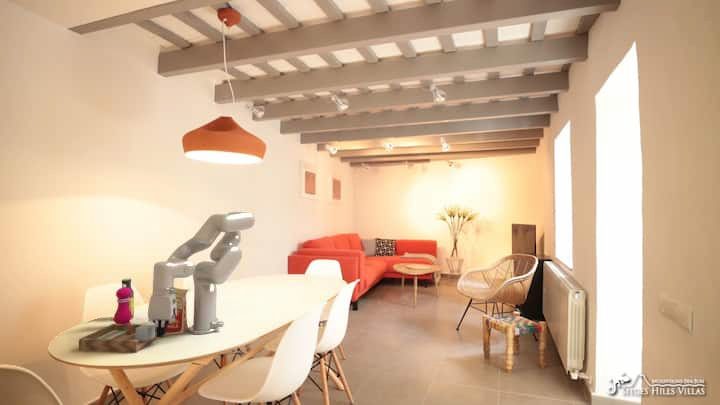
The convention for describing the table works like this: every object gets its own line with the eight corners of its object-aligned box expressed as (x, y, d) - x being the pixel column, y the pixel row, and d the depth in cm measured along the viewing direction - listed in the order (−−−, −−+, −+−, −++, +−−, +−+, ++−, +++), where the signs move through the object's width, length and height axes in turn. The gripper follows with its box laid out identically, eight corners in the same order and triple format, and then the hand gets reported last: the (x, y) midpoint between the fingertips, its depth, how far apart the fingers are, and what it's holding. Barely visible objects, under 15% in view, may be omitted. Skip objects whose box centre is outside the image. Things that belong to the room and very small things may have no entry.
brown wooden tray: (164, 335, 150) (164, 325, 150) (136, 352, 132) (136, 341, 132) (113, 333, 151) (113, 323, 151) (78, 350, 133) (79, 339, 133)
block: (154, 336, 144) (155, 324, 144) (147, 341, 139) (147, 328, 139) (143, 336, 144) (143, 324, 144) (135, 340, 139) (135, 328, 139)
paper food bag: (162, 334, 151) (164, 289, 151) (168, 327, 160) (169, 285, 160) (185, 333, 154) (186, 288, 154) (189, 326, 162) (190, 284, 163)
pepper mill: (122, 330, 155) (123, 286, 156) (109, 329, 157) (110, 285, 157) (135, 325, 162) (137, 283, 163) (122, 323, 164) (124, 282, 164)
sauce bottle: (131, 315, 176) (132, 277, 177) (135, 318, 172) (137, 279, 173) (116, 318, 171) (117, 279, 171) (120, 321, 167) (121, 280, 168)
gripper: (185, 290, 145) (183, 333, 145) (151, 289, 146) (149, 332, 145) (175, 294, 138) (173, 340, 137) (139, 293, 138) (137, 338, 137)
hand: (161, 335), depth 141 cm, fingers closed
